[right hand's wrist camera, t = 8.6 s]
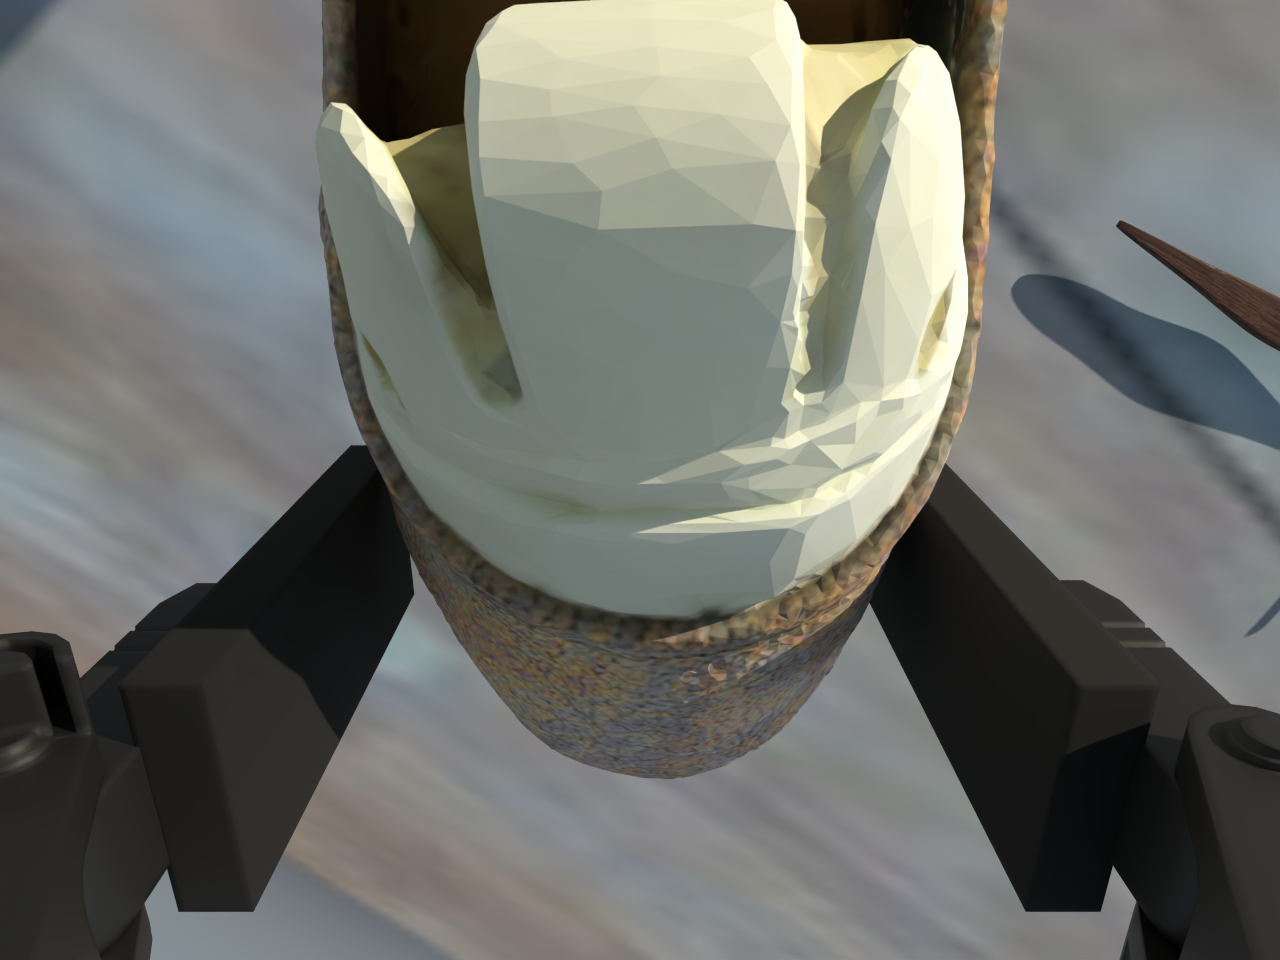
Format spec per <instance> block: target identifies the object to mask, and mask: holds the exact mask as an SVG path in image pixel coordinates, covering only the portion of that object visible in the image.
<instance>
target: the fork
mask: <svg viewBox="0 0 1280 960" xmlns="http://www.w3.org/2000/svg"><path fill="white" fill-rule="evenodd" d="M1116 227H1117V228H1118V229H1120V230H1121V231H1122V232H1123V233H1124V234H1125V235H1127V236H1128V237H1129V238H1130V239H1132V240H1133V241H1134V242H1135V243H1137V244H1138V245H1139V246H1141V247H1142V248H1143V249H1144V250H1146V251H1147V252H1148V253H1150V254H1151V255H1152V256H1153V257H1155V258H1156V259H1157V260H1159V261H1160V262H1161V263H1163V264H1164V265H1165V266H1166V267H1168V268H1169V269H1170V270H1172V271H1173V272H1174V273H1175V274H1177V275H1178V276H1179V277H1181V278H1182V279H1183V280H1184V281H1186V282H1187V283H1188V284H1189V285H1191V286H1192V287H1193V288H1194V289H1196V290H1197V291H1198V292H1199V293H1201V294H1202V295H1203V296H1204V297H1205V298H1207V299H1208V300H1209V301H1210V302H1211V303H1212V304H1214V305H1215V306H1216V307H1217V308H1218V309H1220V310H1221V311H1222V312H1223V313H1224V314H1226V315H1227V316H1228V317H1229V318H1230V319H1232V320H1233V321H1234V322H1235V323H1237V324H1238V325H1239V326H1240V327H1242V328H1243V329H1244V330H1246V331H1247V332H1248V333H1250V334H1251V335H1253V336H1254V337H1256V338H1257V339H1259V340H1261V341H1262V342H1264V343H1266V344H1267V345H1269V346H1271V347H1273V348H1275V349H1277V350H1279V351H1280V298H1279V297H1277V296H1275V295H1273V294H1271V293H1269V292H1267V291H1265V290H1263V289H1260V288H1258V287H1256V286H1254V285H1252V284H1250V283H1248V282H1245V281H1243V280H1241V279H1239V278H1237V277H1235V276H1232V275H1230V274H1228V273H1226V272H1224V271H1222V270H1220V269H1217V268H1215V267H1213V266H1211V265H1209V264H1207V263H1205V262H1203V261H1201V260H1199V259H1197V258H1195V257H1193V256H1191V255H1189V254H1187V253H1185V252H1183V251H1181V250H1179V249H1177V248H1175V247H1173V246H1172V245H1170V244H1168V243H1166V242H1164V241H1162V240H1160V239H1158V238H1156V237H1154V236H1152V235H1150V234H1148V233H1146V232H1144V231H1142V230H1140V229H1138V228H1136V227H1134V226H1132V225H1130V224H1128V223H1126V222H1123V221H1121V220H1120V221H1119V222H1118V224H1117V225H1116Z"/></svg>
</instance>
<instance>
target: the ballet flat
mask: <svg viewBox="0 0 1280 960" xmlns="http://www.w3.org/2000/svg"><path fill="white" fill-rule="evenodd" d="M1006 16H1007V0H322V28H323V80H322V91H323V112H324V113H323V114H322V116H321V118H320V122H319V126H318V129H317V133H316V150H317V156H318V163H319V170H320V177H321V189H320V197H319V216H320V236H321V239H322V241H323V244H324V258H325V262H326V268H327V279H328V284H329V295H330V306H331V317H332V329H333V335H334V339H335V341H334V345H335V349H336V354H337V358H338V362H339V366H340V371H341V375H342V379H343V382H344V386H345V389H346V393H347V396H348V400H349V403H350V406H351V409H352V412H353V415H354V418H355V421H356V423H357V426H358V428H359V431H360V433H361V436H362V438H363V440H364V442H365V443H366V445H367V447H368V449H369V451H370V453H371V455H372V458H373V460H374V462H375V464H376V465H377V467H378V469H379V471H380V473H381V475H382V477H383V479H384V481H385V483H386V486H387V489H388V491H389V494H390V497H391V501H392V505H393V509H394V513H395V517H396V521H397V524H398V527H399V529H400V532H401V534H402V537H403V539H404V542H405V544H406V546H407V548H408V550H409V553H410V555H411V557H412V559H413V561H414V563H415V565H416V567H417V569H418V571H419V575H420V576H421V578H422V579H423V581H424V583H425V584H426V586H427V588H428V590H429V591H430V592H431V594H432V595H433V596H434V599H435V601H436V603H437V605H438V606H439V607H440V609H441V610H442V612H443V614H444V617H445V619H446V621H447V622H448V623H449V624H450V626H451V628H452V631H453V633H454V634H455V636H456V638H457V639H458V641H459V642H460V644H461V645H462V646H463V647H464V649H465V650H466V652H467V653H468V655H469V656H470V658H471V659H472V661H473V662H474V664H475V665H476V666H477V668H478V669H479V671H480V672H481V673H482V675H483V676H484V677H485V678H486V680H487V681H488V682H489V684H490V685H491V686H492V687H493V689H494V690H495V691H496V693H497V694H498V696H499V697H500V698H501V699H502V700H503V701H504V703H505V704H506V705H507V706H508V707H509V708H510V709H511V710H512V712H513V713H514V714H515V716H516V717H517V718H518V719H519V721H520V722H521V723H522V724H523V725H524V726H525V727H526V728H527V729H528V730H529V731H531V732H532V733H533V734H534V735H535V736H536V737H538V738H539V739H540V740H541V741H543V742H544V743H545V744H546V745H548V746H549V747H550V748H551V749H554V750H556V751H557V752H559V753H561V754H562V755H564V756H566V757H569V758H571V759H574V760H576V761H579V762H581V763H584V764H586V765H589V766H592V767H596V768H600V769H603V770H607V771H611V772H615V773H620V774H626V775H631V776H636V777H642V778H663V779H674V778H678V777H683V778H684V777H688V776H693V775H696V774H699V773H703V772H706V771H709V770H712V769H715V768H718V767H722V766H726V765H729V764H730V763H732V762H733V761H735V760H736V759H738V758H741V757H743V756H744V755H746V754H747V753H749V752H750V751H752V750H755V749H758V748H760V747H761V746H762V745H764V744H765V743H766V742H768V741H769V740H770V739H772V738H773V737H774V736H775V735H776V734H777V733H778V732H779V731H781V730H782V729H783V728H784V727H785V726H786V725H787V724H788V723H789V722H790V721H791V720H792V719H793V717H794V716H795V715H796V713H797V712H798V710H799V709H800V708H801V707H802V706H803V704H804V703H805V702H806V701H807V700H808V698H809V697H810V696H811V694H812V693H813V692H814V691H815V689H816V688H817V687H818V686H819V684H820V682H821V680H822V679H823V678H824V677H825V676H826V675H827V674H828V673H829V672H830V670H831V669H832V668H833V664H834V662H835V661H836V659H837V658H838V656H839V654H840V653H841V650H842V648H843V646H844V645H845V643H846V641H847V640H848V638H849V636H850V635H851V633H852V632H853V631H854V629H855V627H856V626H857V624H858V623H859V621H860V620H861V618H862V616H863V614H864V612H865V610H866V608H867V606H868V604H869V602H870V600H871V599H872V595H873V592H874V589H875V587H876V586H877V584H878V581H879V579H880V576H881V574H882V572H883V570H884V568H885V565H886V562H887V559H888V557H889V554H890V552H891V550H892V548H893V546H894V545H895V544H896V543H897V541H898V540H899V539H900V538H901V536H902V535H903V534H904V533H905V531H906V530H907V529H908V527H909V526H910V524H911V523H912V522H913V520H914V519H915V517H916V516H917V515H918V513H919V512H920V510H921V509H922V507H923V506H924V505H925V503H926V502H927V500H928V499H929V496H930V494H931V492H932V490H933V488H934V486H935V484H936V482H937V480H938V477H939V475H940V473H941V471H942V468H943V466H944V464H945V462H946V460H947V457H948V455H949V452H950V450H951V447H952V444H953V442H954V439H955V436H956V434H957V431H958V428H959V426H960V423H961V421H962V418H963V416H964V413H965V411H966V407H967V403H968V399H969V395H970V391H971V387H972V381H973V376H974V371H975V361H976V350H977V341H978V339H979V336H980V333H981V321H982V306H983V298H982V288H983V284H984V280H985V271H986V256H987V249H988V242H989V209H990V199H991V185H992V170H993V165H994V160H995V153H994V140H993V137H994V112H995V102H996V92H997V85H998V78H999V68H1000V58H1001V51H1002V43H1003V30H1004V26H1005V21H1006Z"/></svg>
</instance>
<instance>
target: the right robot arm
mask: <svg viewBox="0 0 1280 960" xmlns="http://www.w3.org/2000/svg"><path fill="white" fill-rule="evenodd" d="M413 595H414V588H413V579H412V570H411V561H410V553H409V550H408V548H407V546H406V544H405V542H404V539H403V537H402V534H401V532H400V529H399V527H398V524H397V521H396V517H395V513H394V509H393V505H392V501H391V497H390V494H389V491H388V489H387V486H386V483H385V481H384V479H383V477H382V475H381V473H380V471H379V469H378V467H377V465H376V464H375V462H374V460H373V458H372V455H371V453H370V451H369V449H368V447H367V445H351V446H350V447H349V448H348V449H347V450H346V451H345V452H344V453H343V454H342V455H341V456H340V457H339V458H338V459H337V460H336V461H335V462H334V463H333V464H332V466H331V467H330V468H329V469H328V470H327V471H326V472H325V473H324V474H323V475H322V476H321V477H320V478H319V479H318V480H317V481H316V482H315V483H314V484H313V485H312V486H311V487H310V488H309V489H308V490H307V491H306V492H305V493H304V494H303V495H302V496H301V497H300V498H299V499H298V500H297V501H296V503H295V504H294V505H293V506H292V507H291V508H290V509H289V510H288V511H287V512H286V513H285V514H284V515H283V516H282V517H281V518H280V519H279V520H278V521H277V522H276V523H275V524H274V525H273V526H272V527H271V528H270V529H269V530H268V531H267V532H266V533H265V534H264V535H263V536H262V537H261V538H260V540H259V541H258V542H257V543H256V544H255V545H254V546H253V547H252V548H251V549H250V550H249V551H248V552H247V553H246V554H245V555H244V556H243V557H242V558H241V559H240V560H239V561H238V562H237V563H236V564H235V565H234V566H233V567H232V568H231V569H230V570H229V571H228V572H227V573H226V574H225V575H224V577H223V578H222V579H221V580H220V581H219V582H218V583H196V584H194V585H192V586H191V587H189V588H187V589H185V590H183V591H181V592H179V593H178V594H176V595H174V596H172V597H170V598H168V599H166V600H165V601H163V602H161V603H159V604H158V605H157V606H156V607H155V608H154V609H153V610H152V611H151V612H150V613H149V614H148V615H147V616H146V617H145V618H143V619H142V620H141V621H140V622H139V623H138V624H137V625H136V626H135V631H130V632H129V633H128V634H127V635H126V636H124V637H123V638H122V639H121V640H120V641H119V642H118V643H117V644H116V645H115V649H114V651H109V652H108V653H107V654H105V655H104V656H103V657H102V658H101V659H100V660H99V661H98V662H97V663H96V664H95V665H94V666H93V667H92V668H91V669H90V670H89V671H87V672H86V673H85V674H84V675H83V676H82V677H81V678H79V674H78V671H77V667H76V664H75V660H74V657H73V653H72V650H71V646H70V643H69V642H68V641H66V640H65V639H63V638H61V637H60V636H58V635H57V634H51V633H42V632H34V631H30V632H20V633H10V634H1V635H0V960H150V954H151V946H152V934H151V928H150V922H149V918H148V915H147V911H146V908H145V904H144V903H145V901H146V900H147V898H148V897H149V895H150V894H151V892H152V891H153V889H154V887H155V886H156V885H157V883H158V882H159V880H160V878H161V877H162V875H163V874H164V872H165V871H166V869H167V870H168V874H169V877H170V881H171V885H172V888H173V892H174V896H175V900H176V904H177V907H178V911H179V912H253V911H254V910H255V907H256V906H257V904H258V902H259V900H260V898H261V896H262V894H263V892H264V890H265V888H266V886H267V884H268V882H269V880H270V878H271V876H272V874H273V872H274V870H275V868H276V866H277V864H278V862H279V860H280V858H281V856H282V854H283V852H284V850H285V848H286V846H287V844H288V842H289V840H290V838H291V836H292V835H293V833H294V831H295V829H296V827H297V825H298V823H299V821H300V819H301V817H302V815H303V813H304V811H305V809H306V807H307V805H308V803H309V801H310V799H311V797H312V795H313V793H314V791H315V789H316V787H317V785H318V783H319V781H320V779H321V777H322V775H323V773H324V771H325V769H326V767H327V765H328V763H329V761H330V759H331V757H332V755H333V753H334V751H335V749H336V748H337V746H338V744H339V742H340V740H341V738H342V736H343V734H344V732H345V730H346V728H347V726H348V724H349V722H350V720H351V718H352V716H353V714H354V712H355V710H356V708H357V706H358V704H359V702H360V700H361V698H362V696H363V694H364V692H365V690H366V688H367V686H368V684H369V682H370V680H371V678H372V676H373V674H374V672H375V670H376V668H377V666H378V664H379V663H380V661H381V659H382V657H383V655H384V653H385V651H386V649H387V647H388V645H389V643H390V641H391V639H392V637H393V635H394V633H395V631H396V629H397V627H398V625H399V623H400V621H401V619H402V617H403V615H404V613H405V611H406V609H407V607H408V605H409V603H410V601H411V599H412V597H413ZM869 603H870V605H871V607H872V609H873V611H874V613H875V614H876V616H877V618H878V620H879V622H880V624H881V626H882V628H883V630H884V632H885V634H886V636H887V638H888V640H889V642H890V644H891V646H892V648H893V650H894V652H895V654H896V656H897V658H898V660H899V662H900V664H901V666H902V668H903V670H904V672H905V674H906V676H907V678H908V680H909V682H910V684H911V686H912V688H913V690H914V692H915V694H916V696H917V698H918V700H919V701H920V703H921V705H922V707H923V709H924V711H925V713H926V715H927V717H928V719H929V721H930V723H931V725H932V727H933V729H934V731H935V733H936V735H937V737H938V739H939V741H940V743H941V745H942V747H943V749H944V751H945V753H946V755H947V757H948V759H949V761H950V763H951V765H952V767H953V769H954V771H955V773H956V775H957V777H958V779H959V781H960V783H961V785H962V787H963V788H964V790H965V792H966V794H967V796H968V798H969V800H970V802H971V804H972V806H973V808H974V810H975V812H976V814H977V816H978V818H979V820H980V822H981V824H982V826H983V828H984V830H985V832H986V834H987V836H988V838H989V840H990V842H991V844H992V846H993V848H994V850H995V852H996V854H997V856H998V858H999V860H1000V862H1001V864H1002V866H1003V868H1004V870H1005V872H1006V874H1007V875H1008V877H1009V879H1010V881H1011V883H1012V885H1013V887H1014V889H1015V891H1016V893H1017V895H1018V897H1019V899H1020V901H1021V903H1022V905H1023V907H1024V909H1025V911H1026V912H1101V908H1102V904H1103V901H1104V897H1105V893H1106V889H1107V886H1108V882H1109V878H1110V874H1111V871H1112V867H1113V866H1114V868H1115V869H1116V871H1117V872H1118V874H1119V875H1120V877H1121V878H1122V880H1123V881H1124V883H1125V884H1126V886H1127V887H1128V889H1129V890H1130V892H1131V893H1132V895H1133V896H1134V898H1135V899H1136V904H1135V908H1134V911H1133V915H1132V918H1131V922H1130V925H1129V929H1128V932H1127V936H1126V939H1125V943H1124V946H1123V950H1122V953H1121V957H1120V960H1280V714H1278V713H1274V712H1271V711H1267V710H1264V709H1260V708H1257V707H1250V706H1241V705H1233V704H1230V703H1229V702H1228V701H1227V700H1226V699H1225V698H1224V697H1223V696H1222V695H1221V694H1220V693H1218V692H1217V691H1216V690H1215V689H1214V688H1213V687H1212V686H1211V685H1210V684H1209V683H1208V682H1207V681H1206V680H1205V679H1204V678H1202V677H1201V676H1200V675H1199V674H1198V673H1197V672H1196V671H1195V670H1194V669H1193V668H1192V667H1191V666H1190V665H1189V664H1188V663H1187V662H1185V661H1184V660H1183V659H1182V658H1181V657H1180V656H1179V655H1178V654H1177V653H1176V652H1175V651H1174V650H1173V649H1172V648H1166V646H1165V642H1164V641H1163V640H1162V639H1161V638H1160V637H1159V636H1158V635H1157V634H1156V633H1155V632H1154V631H1152V630H1151V629H1150V628H1145V623H1144V622H1143V621H1142V620H1141V619H1140V618H1139V617H1138V616H1136V615H1135V614H1134V613H1133V612H1132V611H1131V610H1130V609H1129V608H1128V607H1127V606H1126V605H1125V604H1124V603H1123V602H1122V601H1120V600H1119V599H1117V598H1115V597H1113V596H1111V595H1110V594H1108V593H1106V592H1104V591H1102V590H1100V589H1098V588H1096V587H1095V586H1093V585H1091V584H1089V583H1087V582H1085V581H1083V580H1059V579H1058V578H1057V577H1056V576H1055V575H1054V574H1053V573H1052V572H1051V571H1050V570H1049V569H1048V568H1047V567H1046V566H1045V565H1044V564H1043V563H1042V562H1041V561H1040V560H1039V559H1038V558H1037V557H1036V556H1035V555H1034V554H1033V553H1032V552H1031V551H1030V550H1029V549H1028V548H1027V546H1026V545H1025V544H1024V543H1023V542H1022V541H1021V540H1020V539H1019V538H1018V537H1017V536H1016V535H1015V534H1014V533H1013V532H1012V531H1011V530H1010V529H1009V528H1008V527H1007V526H1006V525H1005V524H1004V523H1003V522H1002V521H1001V520H1000V519H999V518H998V517H997V516H996V515H995V514H994V513H993V512H992V511H991V509H990V508H989V507H988V506H987V505H986V504H985V503H984V502H983V501H982V500H981V499H980V498H979V497H978V496H977V495H976V494H975V493H974V492H973V491H972V490H971V489H970V488H969V487H968V486H967V485H966V484H965V483H964V482H963V481H962V480H961V479H960V478H959V477H958V476H957V475H956V474H955V472H954V471H953V470H952V469H951V468H950V467H949V466H948V465H947V464H946V463H945V464H944V466H943V468H942V471H941V473H940V475H939V477H938V480H937V482H936V484H935V486H934V488H933V490H932V492H931V494H930V496H929V499H928V500H927V502H926V503H925V505H924V506H923V507H922V509H921V510H920V512H919V513H918V515H917V516H916V517H915V519H914V520H913V522H912V523H911V524H910V526H909V527H908V529H907V530H906V531H905V533H904V534H903V535H902V536H901V538H900V539H899V540H898V541H897V543H896V544H895V545H894V546H893V548H892V550H891V552H890V554H889V557H888V559H887V562H886V565H885V568H884V570H883V572H882V574H881V576H880V579H879V581H878V584H877V586H876V587H875V589H874V592H873V595H872V599H871V600H870V602H869Z"/></svg>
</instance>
